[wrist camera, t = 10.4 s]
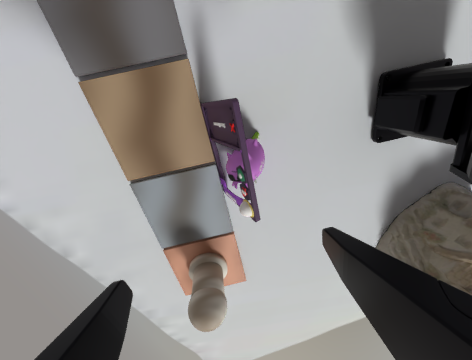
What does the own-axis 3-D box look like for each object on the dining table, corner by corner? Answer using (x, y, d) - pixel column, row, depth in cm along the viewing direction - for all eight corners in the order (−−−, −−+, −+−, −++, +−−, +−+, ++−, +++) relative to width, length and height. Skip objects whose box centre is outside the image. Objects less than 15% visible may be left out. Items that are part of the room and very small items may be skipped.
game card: (220, 102, 10) (248, 227, 14) (293, 84, 12) (300, 200, 16) (191, 105, 16) (217, 194, 20) (243, 93, 17) (258, 177, 21)
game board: (142, -119, 11) (139, -126, 10) (245, 278, 26) (246, 280, 26) (-5, -91, 11) (-13, -97, 10) (186, 292, 26) (185, 295, 25)
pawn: (222, 249, 23) (227, 307, 16) (230, 274, 25) (237, 335, 18) (184, 258, 23) (174, 321, 16) (195, 283, 25) (190, 348, 18)
